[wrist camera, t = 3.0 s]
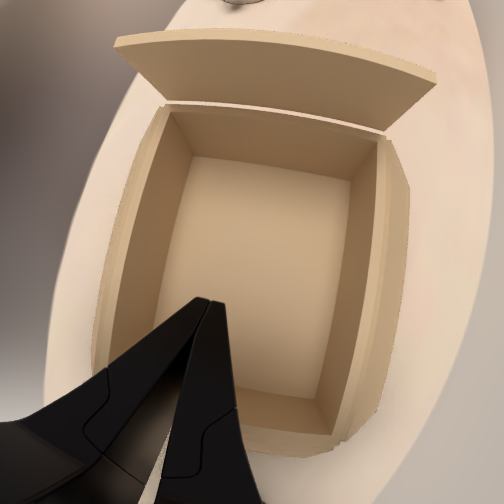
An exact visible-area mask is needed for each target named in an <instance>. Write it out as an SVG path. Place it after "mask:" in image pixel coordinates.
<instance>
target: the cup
mask: <svg viewBox="0 0 504 504" xmlns="http://www.w3.org/2000/svg"><path fill="white" fill-rule="evenodd" d="M224 1H226V2H229V3H235V4H249V3H255V2H259V1H262V0H224Z"/></svg>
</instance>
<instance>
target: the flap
mask: <svg viewBox="0 0 504 504" xmlns="http://www.w3.org/2000/svg"><path fill="white" fill-rule="evenodd" d="M113 48H114V49H115V50H116V51H117V52H119V53H120V54H121V55H122V56H123V57H124V58H125V59H126V60H127V61H128V62H129V63H130V64H131V65H132V66H133V67H134V68H135V69H136V70H137V71H138V72H139V73H140V74H141V75H142V76H143V77H144V78H145V79H147V80H148V81H149V82H150V83H151V84H152V85H153V86H154V87H155V88H156V89H157V90H158V91H159V92H160V93H161V94H162V95H163V96H164V97H165V98H166V99H167V100H176V101H204V102H219V103H232V104H242V105H252V106H260V107H268V108H275V109H282V110H289V111H295V112H301V113H306V114H312V115H317V116H322V117H327V118H332V119H337V120H341V121H345V122H350V123H354V124H358V125H362V126H366V127H370V128H373V129H377V130H381V131H385V130H386V129H387V128H388V127H390V126H391V125H392V124H393V123H394V122H395V121H396V120H397V119H398V118H400V117H401V116H402V115H403V114H404V113H405V112H406V111H407V110H409V109H410V108H411V107H412V106H413V105H414V104H415V103H416V102H417V101H419V100H420V99H421V98H422V97H423V96H424V95H425V94H426V93H427V92H429V91H430V90H431V89H432V88H433V87H434V86H435V85H436V84H437V79H436V72H434V71H432V70H429V69H427V68H424V67H422V66H419V65H416V64H414V63H411V62H408V61H405V60H403V59H400V58H397V57H394V56H391V55H387V54H384V53H381V52H377V51H374V50H370V49H367V48H363V47H359V46H355V45H351V44H347V43H343V42H338V41H333V40H328V39H323V38H318V37H312V36H306V35H299V34H292V33H284V32H275V31H264V30H250V29H220V28H212V29H182V30H168V31H158V32H149V33H141V34H134V35H128V36H122V37H117V39H116V42H115V44H114V47H113Z"/></svg>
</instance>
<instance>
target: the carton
mask: <svg viewBox="0 0 504 504" xmlns="http://www.w3.org/2000/svg"><path fill="white" fill-rule="evenodd" d="M409 208H410V187H409V185H408V182H407V179H406V176H405V174H404V171H403V168H402V166H401V163H400V161H399V158H398V156H397V153H396V151H395V148H394V146H393V144H392V141H391V140H386V136H383V135H380V134H376V133H372V132H369V131H365V130H361V129H357V128H353V127H348V126H344V125H340V124H335V123H331V122H326V121H321V120H316V119H310V118H305V117H299V116H293V115H287V114H281V113H274V112H266V111H259V110H250V109H241V108H231V107H218V106H203V105H180V104H165V106H164V108H163V107H160V106H159V108H158V110H157V112H156V114H155V115H154V117H153V119H152V121H151V123H150V125H149V127H148V129H147V131H146V132H145V134H144V136H143V138H142V140H141V142H140V144H139V147H138V150H137V153H136V155H135V158H134V161H133V164H132V167H131V170H130V173H129V176H128V179H127V182H126V185H125V188H124V191H123V195H122V198H121V201H120V205H119V208H118V212H117V215H116V219H115V223H114V227H113V230H112V234H111V238H110V242H109V247H108V251H107V255H106V260H105V264H104V269H103V274H102V279H101V284H100V290H99V295H98V301H97V307H96V314H95V320H94V327H93V335H92V344H91V365H92V377H93V376H94V375H95V374H97V373H98V372H99V371H101V370H102V369H103V368H104V367H107V365H108V364H110V363H111V362H112V361H114V360H115V359H116V358H118V357H119V356H120V355H121V354H123V353H124V352H125V351H127V350H128V349H129V348H130V347H132V346H133V345H134V344H136V343H137V342H138V341H139V340H141V339H142V338H143V337H145V336H146V335H147V334H148V333H150V332H151V331H152V330H154V329H155V328H156V327H157V326H159V325H160V324H161V323H163V322H164V321H165V320H166V319H168V318H169V317H170V316H172V315H173V314H174V313H175V312H177V311H178V310H179V309H181V308H182V307H183V306H184V305H186V304H187V303H188V302H190V301H191V300H192V299H193V298H195V297H203V298H207V299H209V300H210V301H212V300H215V301H219V302H223V303H225V305H226V313H227V323H228V332H229V341H230V350H231V359H232V368H233V376H234V384H235V392H236V400H237V409H238V414H239V422H240V428H241V433H242V439H243V443H244V447H245V450H249V451H255V452H261V453H268V454H275V455H282V456H291V457H301V458H305V457H309V456H313V455H317V454H321V453H324V452H328V451H331V450H333V448H334V445H339V444H340V441H343V442H346V441H347V440H348V439H349V438H350V437H351V436H352V435H354V434H355V433H356V432H357V431H358V430H359V429H360V428H361V427H362V426H363V425H364V424H365V423H366V421H367V420H368V419H369V418H370V417H371V416H372V415H373V414H374V413H375V412H376V411H377V407H378V404H379V401H380V397H381V394H382V390H383V386H384V382H385V379H386V375H387V371H388V367H389V362H390V358H391V353H392V349H393V344H394V339H395V334H396V329H397V323H398V318H399V312H400V306H401V299H402V292H403V284H404V276H405V267H406V257H407V245H408V231H409ZM171 428H172V426H171ZM171 428H170V431H171Z"/></svg>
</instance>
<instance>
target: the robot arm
mask: <svg viewBox="0 0 504 504" xmlns="http://www.w3.org/2000/svg"><path fill="white" fill-rule="evenodd" d="M171 426H172V428H171ZM170 428H171V432H170V436H169V441H168V445H167V450H166V454H165V459H164V464H163V468H162V473H161V479H160V483H159V487H158V491H157V495H156V498H155V502H154V504H265V503H263V502H262V500H261V497H260V494H259V492H258V489H257V486H256V483H255V480H254V477H253V474H252V471H251V468H250V464H249V461H248V458H247V454H246V451H245V447H244V443H243V439H242V433H241V428H240V422H239V414H238V409H237V400H236V392H235V384H234V376H233V368H232V359H231V350H230V341H229V332H228V323H227V313H226V305H225V303H223V302H219V301H215V300H212V301H210V300H209V299H207V298H203V297H195V298H193V299H192V300H191V301H190V302H188V303H187V304H186V305H184V306H183V307H182V308H181V309H179V310H178V311H177V312H175V313H174V314H173V315H172V316H170V317H169V318H168V319H166V320H165V321H164V322H163V323H161V324H160V325H159V326H157V327H156V328H155V329H154V330H152V331H151V332H150V333H148V334H147V335H146V336H145V337H143V338H142V339H141V340H139V341H138V342H137V343H136V344H134V345H133V346H132V347H130V348H129V349H128V350H127V351H125V352H124V353H123V354H121V355H120V356H119V357H118V358H116V359H115V360H114V361H112V362H111V363H110V364H108V365H107V367H104V368H103V369H102V370H101V371H99V372H98V373H97V374H95V375H94V376H93V377H91V378H90V379H89V380H87V381H86V382H84V383H83V384H82V385H80V386H79V387H77V388H75V389H74V390H72V391H71V392H69V393H68V394H66V395H64V396H63V397H61V398H59V399H58V400H56V401H54V402H52V403H51V404H49V405H47V406H46V407H44V408H42V409H41V410H39V411H37V412H35V413H33V414H32V415H30V416H28V417H26V418H23V419H20V420H15V421H10V422H0V504H138V502H139V500H140V497H141V495H142V493H143V490H144V488H145V485H146V483H147V481H148V479H149V476H150V474H151V472H152V470H153V467H154V465H155V463H156V460H157V458H158V456H159V453H160V451H161V449H162V447H163V444H164V442H165V440H166V437H167V435H168V433H169V431H170Z"/></svg>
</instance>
